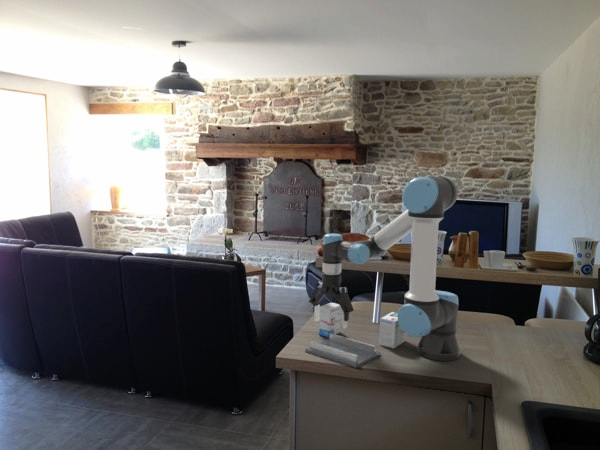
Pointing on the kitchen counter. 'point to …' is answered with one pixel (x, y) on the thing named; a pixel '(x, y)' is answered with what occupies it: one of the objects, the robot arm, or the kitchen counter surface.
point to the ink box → (330, 319)
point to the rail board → (344, 350)
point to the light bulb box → (391, 331)
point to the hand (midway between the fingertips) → (330, 324)
